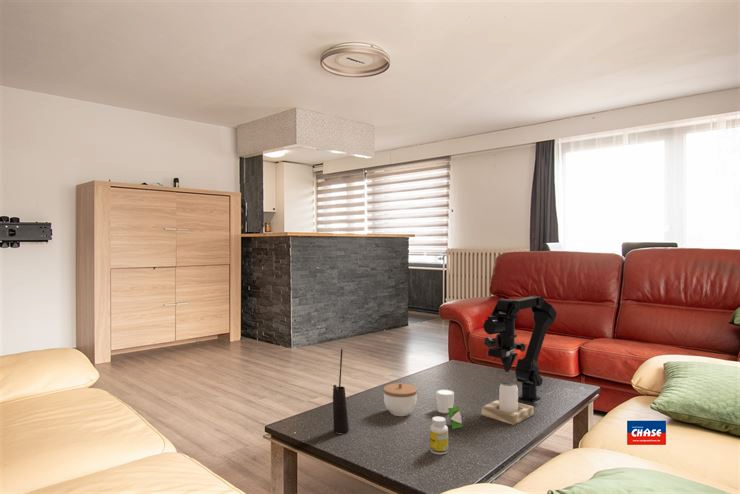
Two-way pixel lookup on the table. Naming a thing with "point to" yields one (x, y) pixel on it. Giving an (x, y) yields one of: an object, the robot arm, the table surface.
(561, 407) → the table surface
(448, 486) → the table surface
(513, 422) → the frame
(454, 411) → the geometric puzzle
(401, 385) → the lidded bowl
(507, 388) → the can
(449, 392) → the white cup
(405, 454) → the table surface
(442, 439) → the supplement bottle
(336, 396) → the butter churn
